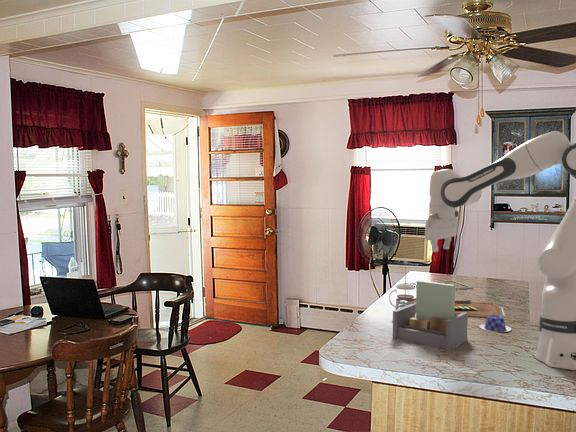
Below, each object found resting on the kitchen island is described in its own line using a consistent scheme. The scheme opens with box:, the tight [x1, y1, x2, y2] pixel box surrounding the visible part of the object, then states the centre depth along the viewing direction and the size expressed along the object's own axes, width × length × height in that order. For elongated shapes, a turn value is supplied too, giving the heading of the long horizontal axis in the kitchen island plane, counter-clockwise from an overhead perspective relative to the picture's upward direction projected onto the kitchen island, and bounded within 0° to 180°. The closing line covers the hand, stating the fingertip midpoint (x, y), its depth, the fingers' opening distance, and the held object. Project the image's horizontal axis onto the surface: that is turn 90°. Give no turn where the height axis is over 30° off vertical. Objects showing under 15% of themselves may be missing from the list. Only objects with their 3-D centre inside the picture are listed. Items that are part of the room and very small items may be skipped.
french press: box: [388, 260, 416, 310], centre depth 234 cm, size 10×12×25 cm
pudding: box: [479, 315, 512, 333], centre depth 219 cm, size 12×12×5 cm
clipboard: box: [410, 280, 474, 290], centre depth 302 cm, size 19×2×30 cm
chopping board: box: [400, 297, 506, 319], centre depth 252 cm, size 45×27×3 cm, turn 73°
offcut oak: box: [410, 317, 430, 329], centre depth 202 cm, size 7×2×6 cm, turn 50°
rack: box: [392, 304, 469, 351], centre depth 200 cm, size 22×15×12 cm
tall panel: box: [415, 279, 456, 320], centre depth 203 cm, size 14×2×20 cm, turn 50°
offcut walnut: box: [430, 317, 448, 332], centre depth 197 cm, size 7×2×8 cm, turn 50°
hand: (440, 250), depth 204 cm, fingers open, 8 cm apart
